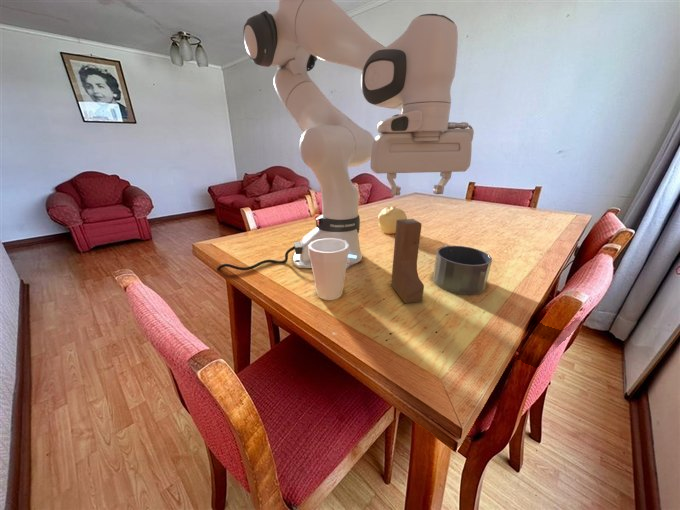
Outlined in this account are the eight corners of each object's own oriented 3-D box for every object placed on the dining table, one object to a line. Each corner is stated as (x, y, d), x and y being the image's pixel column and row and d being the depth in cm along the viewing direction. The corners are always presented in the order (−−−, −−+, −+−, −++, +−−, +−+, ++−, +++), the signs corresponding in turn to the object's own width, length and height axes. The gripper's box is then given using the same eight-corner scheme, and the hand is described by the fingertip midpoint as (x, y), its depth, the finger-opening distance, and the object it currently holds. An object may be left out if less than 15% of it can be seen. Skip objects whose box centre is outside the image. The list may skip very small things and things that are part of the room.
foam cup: (347, 283, 71) (347, 238, 66) (349, 303, 62) (350, 252, 57) (312, 284, 70) (309, 238, 65) (309, 304, 62) (306, 253, 57)
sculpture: (379, 226, 118) (380, 202, 113) (407, 229, 114) (409, 204, 110) (374, 234, 108) (375, 208, 103) (404, 237, 104) (407, 210, 100)
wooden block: (422, 301, 63) (432, 229, 55) (404, 304, 62) (413, 230, 55) (406, 283, 71) (413, 218, 64) (390, 285, 70) (395, 219, 63)
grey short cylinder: (496, 293, 66) (503, 264, 63) (446, 296, 65) (451, 266, 62) (461, 264, 81) (466, 240, 78) (420, 266, 80) (423, 242, 77)
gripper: (466, 123, 55) (455, 190, 60) (369, 123, 53) (367, 193, 58) (484, 120, 49) (471, 195, 55) (377, 121, 47) (374, 198, 53)
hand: (416, 194), depth 56 cm, fingers open, 8 cm apart
